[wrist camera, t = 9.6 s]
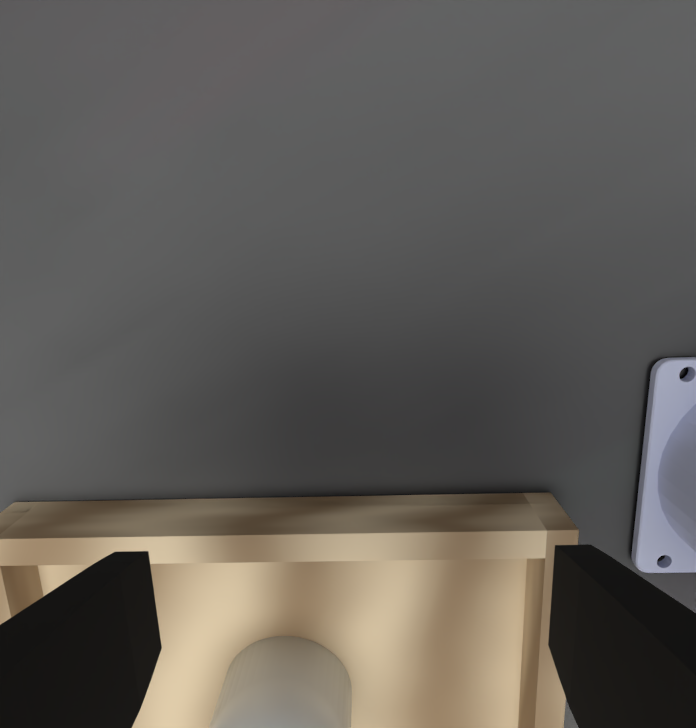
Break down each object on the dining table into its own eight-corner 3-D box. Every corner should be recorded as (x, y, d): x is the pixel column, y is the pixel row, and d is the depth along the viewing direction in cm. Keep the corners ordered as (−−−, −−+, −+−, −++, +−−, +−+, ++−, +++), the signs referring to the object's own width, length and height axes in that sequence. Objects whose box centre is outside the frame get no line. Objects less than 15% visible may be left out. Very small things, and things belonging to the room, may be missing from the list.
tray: (550, 492, 19) (578, 530, 16) (529, 827, 22) (549, 898, 20) (14, 502, 19) (-36, 539, 17) (80, 825, 23) (46, 894, 21)
